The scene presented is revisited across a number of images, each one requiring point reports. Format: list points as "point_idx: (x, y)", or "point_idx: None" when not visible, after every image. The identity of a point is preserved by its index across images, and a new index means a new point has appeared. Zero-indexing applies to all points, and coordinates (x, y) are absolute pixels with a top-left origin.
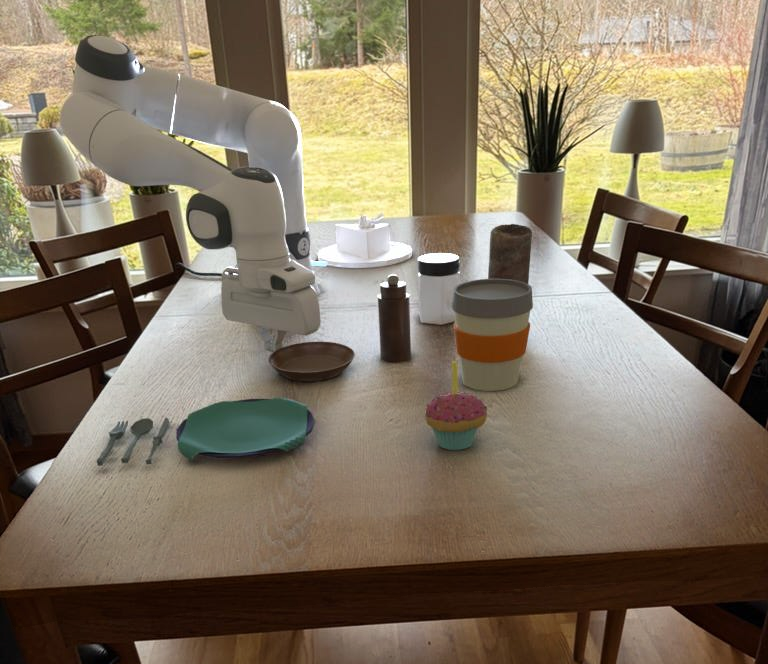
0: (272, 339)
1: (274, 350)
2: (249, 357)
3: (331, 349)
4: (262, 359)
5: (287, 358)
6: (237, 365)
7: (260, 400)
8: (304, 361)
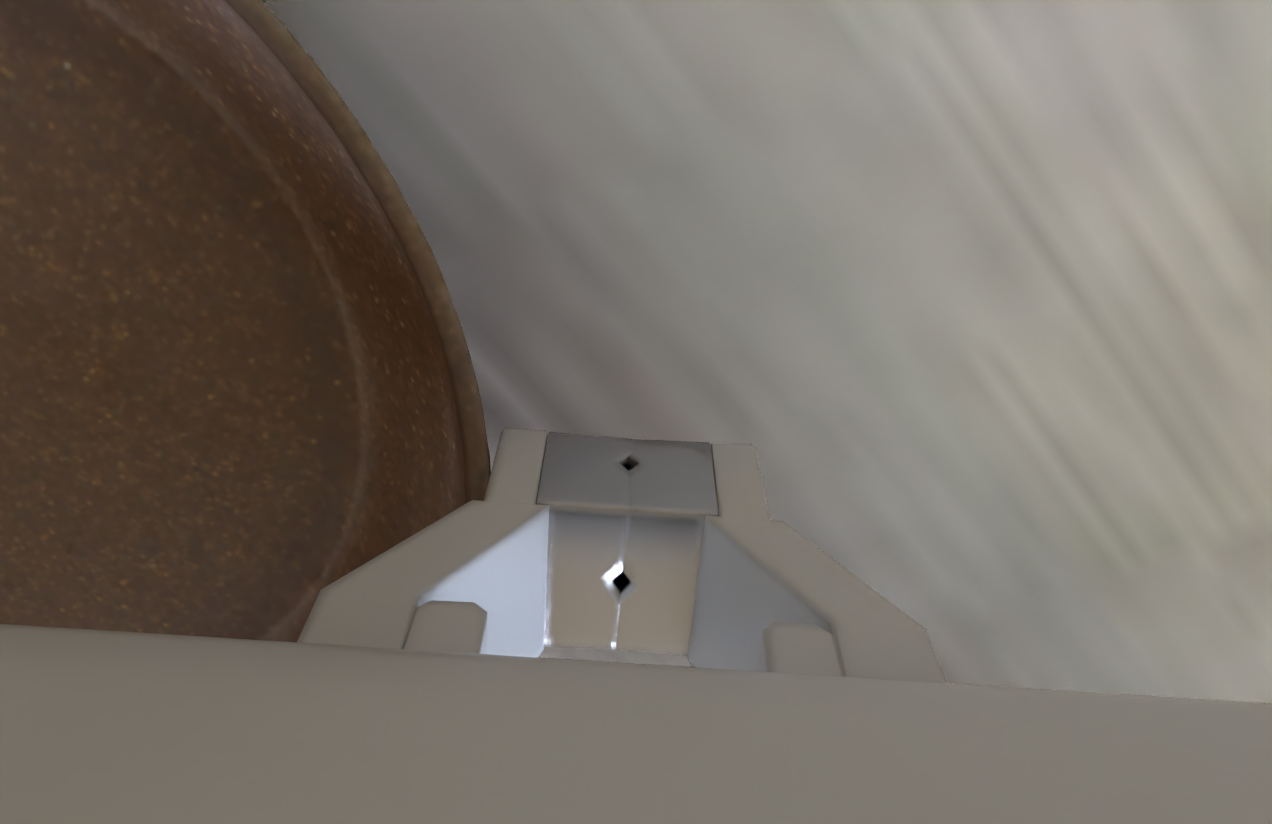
0: (688, 648)
1: (529, 438)
2: (1072, 414)
3: None
4: (854, 422)
5: (396, 450)
6: (1084, 90)
7: None
8: (197, 501)
